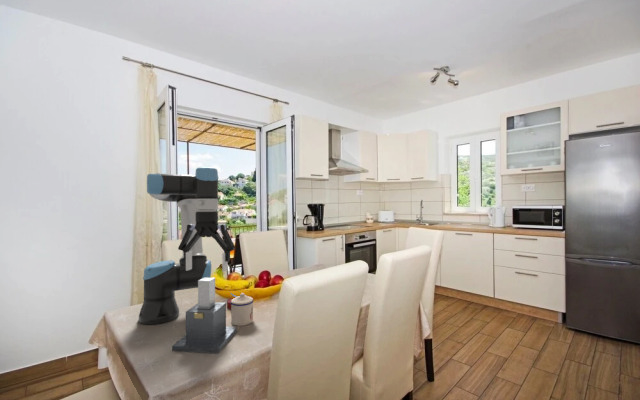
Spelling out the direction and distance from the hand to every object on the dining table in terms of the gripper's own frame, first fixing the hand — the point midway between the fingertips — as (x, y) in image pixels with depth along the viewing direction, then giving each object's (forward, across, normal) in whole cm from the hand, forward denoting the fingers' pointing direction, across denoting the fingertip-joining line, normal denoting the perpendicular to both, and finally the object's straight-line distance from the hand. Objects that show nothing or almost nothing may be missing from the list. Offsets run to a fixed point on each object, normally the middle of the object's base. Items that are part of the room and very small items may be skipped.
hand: (206, 270), depth 104 cm
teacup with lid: (+25, +6, +18) cm, 32 cm away
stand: (+25, 0, 0) cm, 25 cm away
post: (+23, 0, 0) cm, 23 cm away
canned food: (+25, -2, +34) cm, 43 cm away
